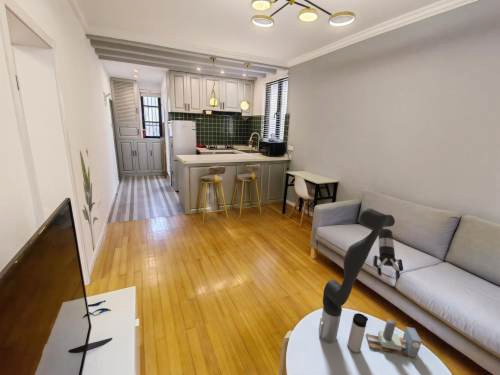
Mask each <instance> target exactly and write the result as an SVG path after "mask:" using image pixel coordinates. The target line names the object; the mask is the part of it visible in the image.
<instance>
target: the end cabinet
mask: <svg viewBox="0 0 500 375" xmlns="http://www.w3.org/2000/svg"><path fill="white" fill-rule="evenodd" d="M402 339H403V340H405V341H406V342H407V343H406V344H403V345H405V347H406V349H405V350H406V352H407V354H408V355H409V356H413V357H418V354H419V351H420V348H421V345H422V343H423V342H422V340H421V338H420V336H419V334H418V332H417V330H416V328H414V327H410V326H409V327H408V326H405V330H404V333H403V336H402Z"/></svg>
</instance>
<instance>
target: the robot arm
mask: <svg viewBox="0 0 500 375" xmlns="http://www.w3.org/2000/svg"><path fill="white" fill-rule="evenodd" d="M395 221H396V220H395V217H394V216H393V215H392V214H385V213H383V212H380V211H378V210H376V209H373V208H370V207H366V208H365V209H363V210H362V211H361V214H360V216H359V222H360V224H361V225H363V226H365V227H367V228H369V229H371V230H372V231H371V232H370V233H369V234H368V235H366V236H365V237H364V238H362V239H360V240H358V241H356V242H355V243H353V244H351V245H350V246H349V247H348V249H347V250H346V252H345V255H344V257H343V279H342V282H341V284H340V283H339V282H338V281H337V280H335V279H330V280H329V281H327V282H326V284H325V286H324V287H323V294H322V305H323V306H322V313H321V315H320V318H319V325H318V338H319V339H320V340H322V341H324V342H326V343H330V344H333V343H335V342H336V340H337V339H338V338H337V337H338V332H339V327H340V322H341V318H342V312H343V308H342V306H343V305H345V304H346V303H347V301H348V299H349V297H350V295H351V294H352V293H351V292H352V290H353V288H354V284H355V283H356V282H355V281H356V280H357V278H358V276H359V273H360V272H361V271H362V270H361V269H362V268H363V266H364V264H365V263H366V261H367V259H368V257H369V254H370V252H371V249H372V248H373V245H374V244H375V242H376V240H378V254H379V255H376V254H375V255H374V256H373V258H372V259H373V262H372V266H373V267H374V268H376V269H377V270H376V271H377V275H378V277H382V267H383V266H387V267H391V268H392V269H393V270H394V271H395V274H394V275H395V280H396V279H397V280H399V279H400V277H401V274H400V272H403V271H404V265H403V260H402V258H401V259H400V258H399V259H396V257H395V256H396V254H395V243H394V239H393V238H394V237H393V232H392V230H391V229H387V227H388V228H389V227H390V228H391V227H393V226H394V225H395V223H396V222H395ZM385 227H386V228H385ZM377 238H378V239H377ZM378 260H379V261H380V263H378ZM396 263H397V264H396Z"/></svg>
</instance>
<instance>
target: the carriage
mask: <svg viewBox="0 0 500 375" xmlns="http://www.w3.org/2000/svg"><path fill="white" fill-rule="evenodd" d="M396 324H397V323H396V322H395V321H394V320H393V319H391V318H387V319H386V323H385V327H384V330H383V331H382V330H378V334H377V336H378V337H379V340H380V343H381V345H382V347H387V348H391V349H395V350H400V351H401V349H402V344H401V342H400V340H399V338H398V337H399V336H398V334H395V329H396Z"/></svg>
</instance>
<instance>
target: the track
mask: <svg viewBox="0 0 500 375" xmlns="http://www.w3.org/2000/svg"><path fill="white" fill-rule="evenodd" d="M365 338H366V342H367V345H368V348H369V349H371V350H374V351H381V352H383V353H388V354H393V355H397V356H402V357H406V358H410V359H415V360H416V359H417V357H418V356H417V357H413V356H409V355H408V354H407V352H406V350H405V349H406V347H405V345H402V349H401V351H400V350H395V349H391V348H387V347H382V345H381V343H380V340H379V337H378V335H375V334H370V333H365Z"/></svg>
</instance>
